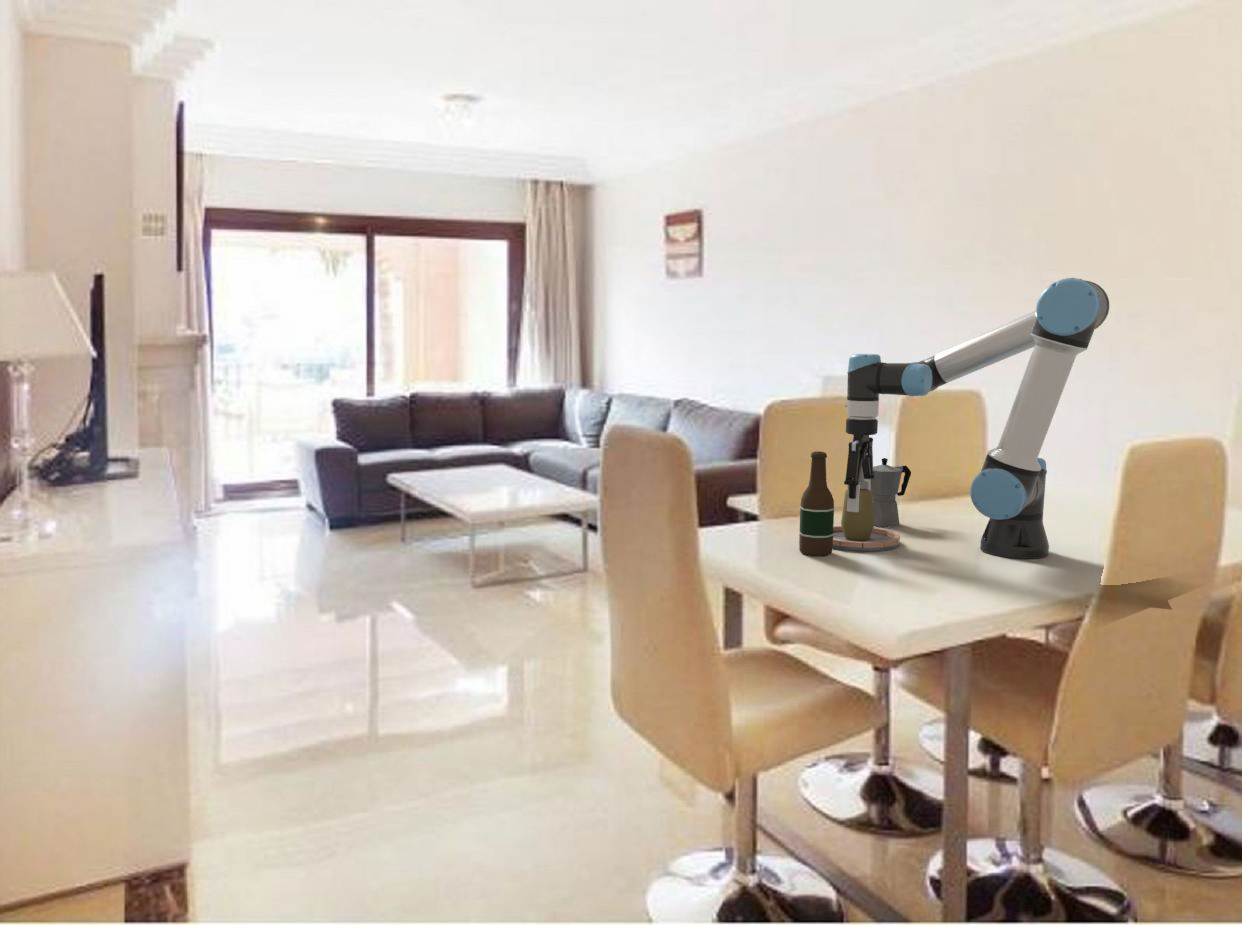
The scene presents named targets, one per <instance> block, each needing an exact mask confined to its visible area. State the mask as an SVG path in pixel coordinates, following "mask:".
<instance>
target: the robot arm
mask: <svg viewBox="0 0 1242 925" xmlns="http://www.w3.org/2000/svg"><path fill="white" fill-rule="evenodd" d="M1108 296H1109V295H1108V294H1107V292H1106V291H1105V290H1104V288H1102V286H1100V285H1099V284H1097V283H1095V282H1093V281H1090V280H1086V279H1085V280H1084V279H1082V278H1077V277H1066V278H1063V279H1059V280H1058V281H1055V282H1053V283H1051V284H1050V285H1048V286H1047V287H1046V288H1044V290H1043V291H1042V292H1041V294H1040V295H1039V297H1038V299H1037V302H1036V306H1035V307H1036V308H1035V309H1036V310H1034V311H1031V312H1030V313H1027V314H1025V315H1022V316H1020V317H1018V318H1015V319H1014V320H1011V321H1009V322H1007V323H1004V324H1002V325H999V326H997V327H995V328H993V329H991V330H988V331H986V332H984V333H981V334H979V335H977V336H975V337H973V338H970V339H968V340H966V341H964V342H961V343H959V344H957V345H955V346H952V347H950V348H948V349H946V350H943V351H940V352H938V353H937V354H936V353H935V354H934V355H932V356H928V357H927V358H925V359H923V360H920V361H917V362H916V361H914V362H906V363H905V362H896V363H895V362H882V360H881V358H882V357H881V355H880V354H878V353H877V354H875V353H853V354H851V355H850V356H849V358H848V367H847V368H848V369H847V372H846V374H847V395H846V403H844V407H845V408H846V416H847V419H846V420H845V433H847V435H848V434H849V435H852V436H853V438H852V441H851V442H849V443H848V454H847V464H846V472H845V473H846V474H845V480H844V481H843V485H846V486H847V489H848V492H847V511H849V512H859V491H860V485H858V484H859V478H860V472H861V466H862V470H863V476H864V480H866V481H868V482H869V483H868V488H867V489H869V490H870V484H871V479H874V475H873V467H874V458H873V457H874V456H873V455H874V452H873V445H874V444H873V442H874V439H873V437H870V436H873V435H876V434H878V426H879V425H878V424H879V420H878V419H877V418H878V417H879V409H880V408H879V406H880V405H879V404H880V402H879V400H880V397H879V396H880V395H895V396H909V397H918V396H919V397H923V396H926V395H928V394H929V393H930V392H933V391H934V390H935V391H936V390H937V389H938V388H939V387H942V386H944V385H946V384H948V383H950V382H953V381H955V380H958V379H960V378H963V377H964V376H968V375H970V374H972V373H974V372H978V371H979V370H982V369H984V368H987V367H988V366H989V367H990V366H991V365H992V366H993V365H994V364H997V363H999V362H1001V361H1004V360H1006V359H1008V358H1010V357H1013V356H1016V355H1017V354H1021V353H1023V352H1026V351H1028V350H1030V349H1032V348H1033V350H1031V351H1032V352H1031V355H1030V357H1029V360H1028V363H1027V366H1026V368H1025V371H1024V374H1023V376H1022V380H1021V382H1020V384H1019V386H1018V391H1017V394H1016V396H1015V398H1014V401H1013V404H1012V407H1011V409H1010V412H1009V415H1008V418H1007V420H1006V423H1005V426H1004V428H1003V430H1002V434H1001V437H1000V439H999V442H998V445H997V446H996V447H995V448H992V449H990V450H989V451H988V452H987V454H986V457H985V460H984V463H983V466H982V468H981V469H980V470H981V471H980V472H978V474H977V475H976V476H975V477H974V479H973V480H972V483H971V484H970V489H969V494H970V495H969V496H970V499H971V502H972V504H973V506H974V508H976V511H978V512H979V513H980V514H981V515H984V517H987V518H988V521H987V524H986V526H985V529H984V532H983V534H982V536H981V539H980V547H979V548H980V550H981V551H982V552H983V553H987V554H990V555H994V556H999V557H1004V558H1005V557H1006V558H1013V559H1039V558H1045V557H1048V556H1049V554H1050V545H1049V540H1048V536H1047V533H1046V529H1045V526H1044V521H1043V520H1044V508H1045V505H1044V504H1045V495H1046V494H1045V492H1046V479H1047V473H1048V471H1047V462H1046V460H1045V459H1044V458H1042V457H1039V455H1040V453H1041V450H1042V447H1043V444H1044V442H1045V439H1046V437H1047V435H1048V434H1047V433H1048V432H1049V429H1050V426H1051V423H1052V422H1053V418H1054V416H1055V413H1056V410H1057V408H1058V404H1059V402H1060V399H1061V397H1062V395H1063V391H1064V390H1065V386H1066V384H1067V381H1068V379H1069V376H1070V373H1071V371H1072V367H1073V365H1074V362H1075V360H1076V358H1077V356H1078V355H1079V354H1081V353H1083V352H1085V351H1087V350H1088V348H1089V345H1090V342H1091V339H1092V338H1093V335H1094V332H1095V330H1097V329H1098V328H1099V327H1100V326H1102V325H1103V323H1104V322H1105V320H1106V319H1107V317H1108V315H1109V312H1110V299H1109V297H1108ZM869 478H870V479H869Z"/></svg>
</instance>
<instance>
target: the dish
mask: <svg viewBox="0 0 1242 925" xmlns="http://www.w3.org/2000/svg"><path fill="white" fill-rule="evenodd" d="M900 540H901V534H899V533H897V532H896V531H893V530H890V529H885V528H882V527H875V526H874V527H873V530H872V533H871V535H870V538H869V539H867V540H851V539H847V538H845V535H844V532H843V529H842V525H833V548H832V550H834V549H835V550H838V549H839V551H846V552H858V553H859V552H860V553H871V552H872V553H873V552H874V553H879V552H887V551H892V550H894V549H897V548H898V547H899V546H900V542H901V541H900Z"/></svg>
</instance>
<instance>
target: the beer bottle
mask: <svg viewBox="0 0 1242 925" xmlns="http://www.w3.org/2000/svg"><path fill="white" fill-rule="evenodd" d="M810 458H811V462H810V463H811V464H810V475H809V482H808V485H807V487H806V489H805V490H804V491H803V493H802V496H801V498H800V504H799V506H800V509H799V537H798V538H799V541H798V544H799V546H798V549H799V552H800V553H801V554H802V555H803V556H809V557H827V556H830V555H832V554H833V526H834V525H835V524H834V521H835V520H834V519H835V517H834V516H835V500H834V498H833V494H832V492H831V491H830V489H829V486H828V482H827V461H826V460H827V458H828V455H827V452H825V451H820V450H817V451H813V452H811V454H810Z"/></svg>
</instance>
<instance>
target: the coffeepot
mask: <svg viewBox="0 0 1242 925" xmlns="http://www.w3.org/2000/svg"><path fill="white" fill-rule="evenodd" d="M888 461H889V459H888V458H886V457H884V458H883V457H882V458H881V464H879V465H873V475H874V479H871V484H870V491H872V500H873V515H874V527H876V528H895V527H898V526H899V525H900V518H899V509H898V503H897V500H896V498H897V496H898V497H903V496H904V495H905V493H906V490H907V487H908V484H909V482H910V481H909V480H910V478H911V475H912V471H911V470H910V468H909V467H908V466H907V465H896V466H892V465H888V464H887V463H888ZM902 473H904V475H903V480H902V481H903V482H902V483H901V489H900V491H899V488H900V482H901V479H902ZM869 479H870V478H869Z"/></svg>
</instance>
